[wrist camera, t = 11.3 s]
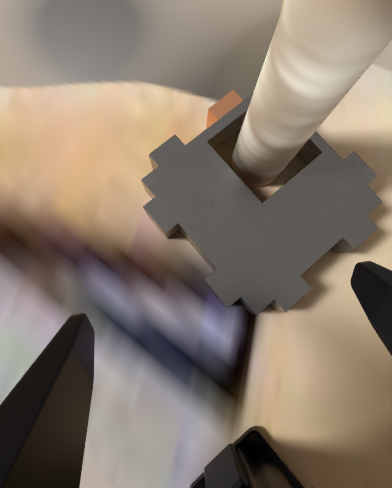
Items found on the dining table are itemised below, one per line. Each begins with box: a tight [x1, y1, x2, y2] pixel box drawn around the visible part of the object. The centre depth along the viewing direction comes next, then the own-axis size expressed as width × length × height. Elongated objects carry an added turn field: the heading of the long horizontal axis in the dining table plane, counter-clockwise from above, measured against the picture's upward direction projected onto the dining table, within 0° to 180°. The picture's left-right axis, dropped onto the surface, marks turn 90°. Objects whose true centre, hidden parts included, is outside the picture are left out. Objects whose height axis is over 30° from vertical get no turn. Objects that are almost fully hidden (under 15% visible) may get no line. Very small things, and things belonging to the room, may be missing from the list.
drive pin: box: [231, 0, 392, 186], centre depth 18 cm, size 4×4×14 cm
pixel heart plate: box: [141, 90, 382, 315], centre depth 23 cm, size 15×15×2 cm
